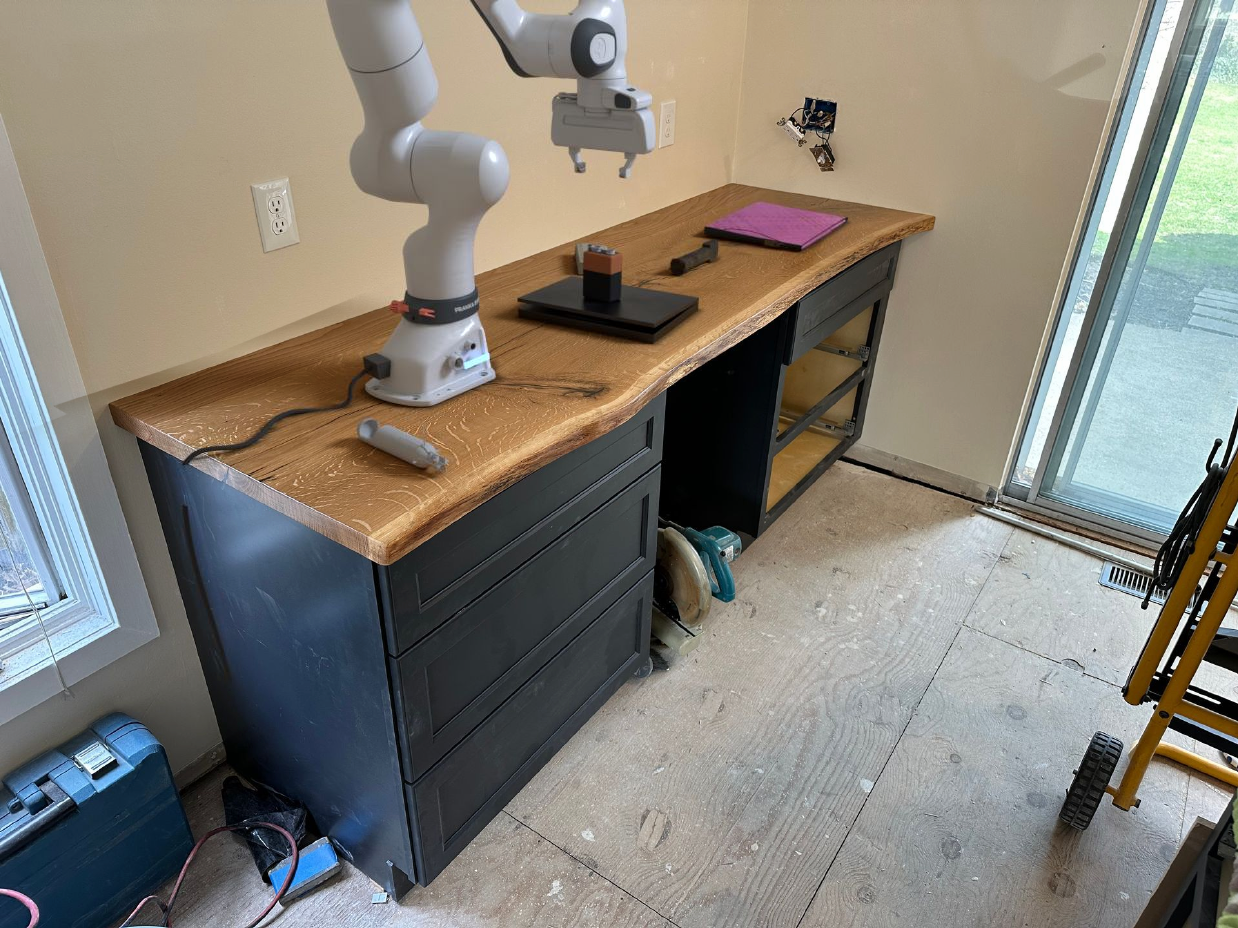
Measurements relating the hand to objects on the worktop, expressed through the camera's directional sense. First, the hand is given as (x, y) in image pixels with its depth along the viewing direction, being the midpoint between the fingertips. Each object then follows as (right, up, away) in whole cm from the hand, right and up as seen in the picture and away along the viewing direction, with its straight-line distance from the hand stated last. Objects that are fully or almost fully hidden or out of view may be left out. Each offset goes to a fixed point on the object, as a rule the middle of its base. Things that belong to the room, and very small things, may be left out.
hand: (602, 175), depth 161 cm
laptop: (+1, -23, +14) cm, 27 cm away
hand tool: (+21, -7, +43) cm, 48 cm away
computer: (-3, -7, +43) cm, 44 cm away
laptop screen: (+1, -21, +13) cm, 25 cm away
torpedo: (-27, -53, -38) cm, 71 cm away
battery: (0, -21, +12) cm, 24 cm away
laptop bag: (+45, +9, +71) cm, 84 cm away
